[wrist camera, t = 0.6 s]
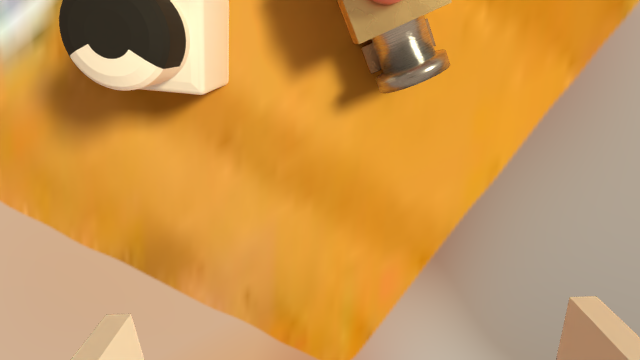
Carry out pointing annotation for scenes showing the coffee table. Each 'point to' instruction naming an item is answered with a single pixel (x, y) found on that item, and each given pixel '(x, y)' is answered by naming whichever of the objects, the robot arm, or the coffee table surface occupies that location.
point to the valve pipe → (396, 40)
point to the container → (149, 43)
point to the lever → (386, 1)
